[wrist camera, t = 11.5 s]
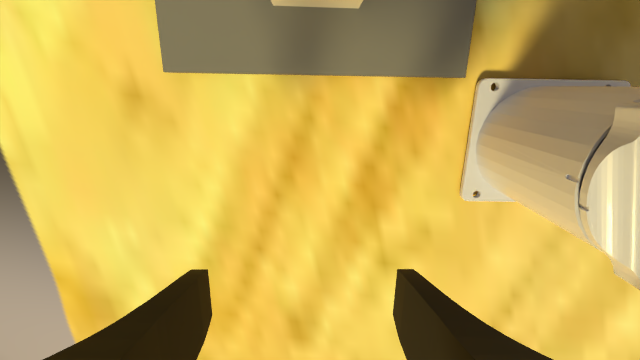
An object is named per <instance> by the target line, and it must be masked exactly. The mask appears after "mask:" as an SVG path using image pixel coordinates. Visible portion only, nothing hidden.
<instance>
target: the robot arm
mask: <svg viewBox="0 0 640 360" xmlns="http://www.w3.org/2000/svg"><path fill="white" fill-rule="evenodd" d="M493 83H495V84H496V88H495V89H494V90H493V91H492V90H491V85H492V84H493ZM475 191H478V193H477V195H476V196H473V193H474V192H475ZM460 196H461V198H462V199H464V200H465V201H501V202H518V203H520V204H521V205H523V206H525V207H527V208H528V209H530V210H532V211H533V212H535V213H537V214H539V215H540V216H542V217H544V218H545V219H547V220H549V221H550V222H552V223H554V224H556V225H557V226H559V227H561V228H562V229H564V230H566V231H568V232H569V233H571V234H573V235H574V236H576V237H578V238H580V239H581V240H583V241H585V242H586V243H588V244H590V245H592V246H593V247H595V248H597V249H598V250H600V251H602V252H603V253H604V254H606V255H607V256H608V257H609V258H610V260H611V262H612V264H613V269H614V274H615V275H617V276H619V277H620V278H622V279H623V280H625V281H626V282H628V283H630V284H631V285H633V286H634V287H636V288H637V289H639V290H640V87H631V85H630V83H629V82H628V81H618V80H564V79H509V78H484V79H481V80H480V81H479V82H478V83H477V85H476V91H475V97H474V104H473V110H472V117H471V123H470V130H469V136H468V143H467V149H466V156H465V162H464V169H463V175H462V182H461V188H460ZM393 316H394V321H395V325H396V329H397V333H398V337H399V340H400V343H401V346H402V348H403V351H404V354H405V356H406V359H407V360H553V359H551V358H549V357H546V356H544V355H542V354H540V353H538V352H536V351H534V350H532V349H530V348H528V347H526V346H524V345H522V344H520V343H518V342H517V341H515V340H513V339H511V338H509V337H507V336H506V335H504V334H502V333H501V332H499V331H497V330H496V329H494V328H492V327H491V326H489V325H487V324H486V323H484V322H483V321H481V320H480V319H478V318H477V317H475V316H474V315H472V314H471V313H469V312H468V311H466V310H465V309H464V308H462V307H461V306H459V305H458V304H457V303H455V302H454V301H453V300H451V299H450V298H449V297H448V296H446V295H445V294H444V293H442V292H441V291H440V290H439V289H437V288H436V287H435V286H434V285H432V284H431V283H430V282H429V281H428V280H426V279H425V278H424V277H423V276H421V275H420V274H419V273H418V272H416V271H415V270H413V269H397V279H396V289H395V299H394V309H393ZM211 318H212V308H211V298H210V287H209V277H208V270H190V271H188V272H187V273H186V274H184V275H183V276H181V277H180V278H179V279H177V280H176V281H174V282H173V283H172V284H170V285H169V286H168V287H166V288H165V289H164V290H162V291H161V292H159V293H158V294H157V295H155V296H154V297H152V298H151V299H150V300H148V301H147V302H145V303H144V304H142V305H141V306H139V307H138V308H136V309H135V310H133V311H132V312H130V313H129V314H127V315H126V316H124V317H123V318H121V319H119V320H118V321H116V322H115V323H113V324H111V325H110V326H108V327H106V328H104V329H103V330H101V331H99V332H97V333H95V334H94V335H92V336H90V337H88V338H86V339H84V340H82V341H80V342H78V343H76V344H74V345H72V346H71V347H68V348H66V349H64V350H62V351H60V352H58V353H56V354H54V355H52V356H50V357H48V358H45V359H43V360H196V359H197V357H198V355H199V353H200V350H201V348H202V346H203V343H204V341H205V338H206V335H207V331H208V328H209V325H210V321H211Z"/></svg>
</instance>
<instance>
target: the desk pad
mask: <svg viewBox="0 0 640 360" xmlns="http://www.w3.org/2000/svg"><path fill="white" fill-rule="evenodd" d="M476 1H477V0H363V2H362V3H361V5H360V7H359V8H329V7H299V6H273V4H272V2H271V0H155V5H156V13H157V22H158V30H159V38H160V47H161V55H162V63H163V72H171V73H225V74H279V75H333V76H388V77H442V78H465V77H466V70H467V63H468V56H469V49H470V42H471V36H472V29H473V22H474V15H475V8H476Z"/></svg>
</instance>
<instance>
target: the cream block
mask: <svg viewBox="0 0 640 360" xmlns="http://www.w3.org/2000/svg"><path fill="white" fill-rule="evenodd" d="M271 2H272V4H273V6H299V7H329V8H359V7H360V5H361V3H362V2H363V0H271Z"/></svg>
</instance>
